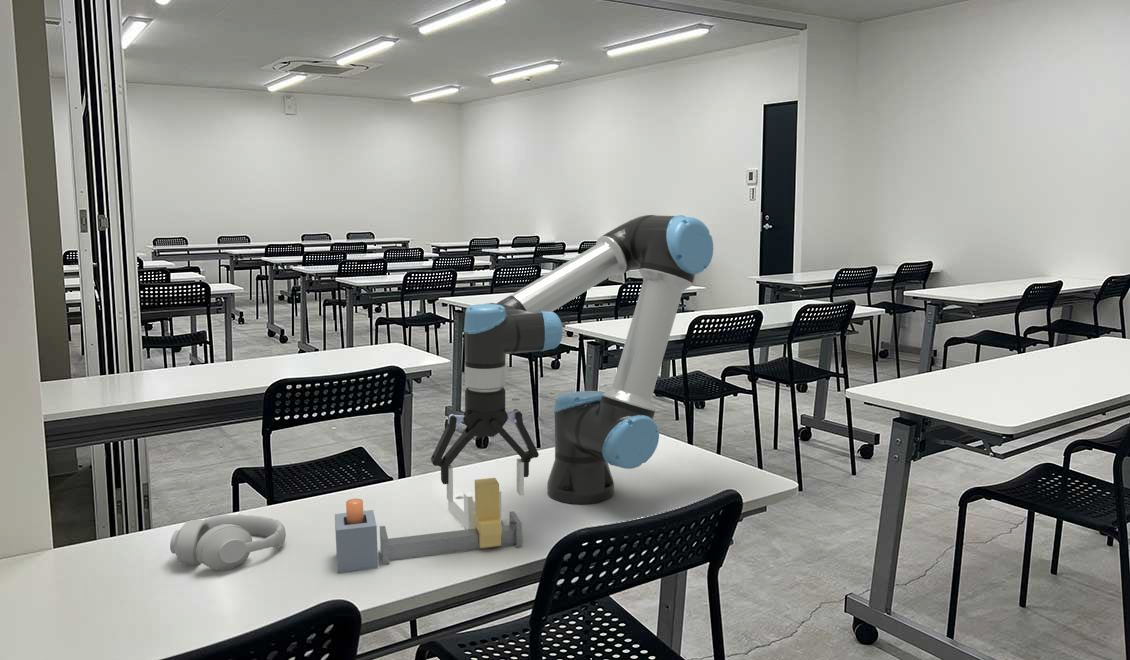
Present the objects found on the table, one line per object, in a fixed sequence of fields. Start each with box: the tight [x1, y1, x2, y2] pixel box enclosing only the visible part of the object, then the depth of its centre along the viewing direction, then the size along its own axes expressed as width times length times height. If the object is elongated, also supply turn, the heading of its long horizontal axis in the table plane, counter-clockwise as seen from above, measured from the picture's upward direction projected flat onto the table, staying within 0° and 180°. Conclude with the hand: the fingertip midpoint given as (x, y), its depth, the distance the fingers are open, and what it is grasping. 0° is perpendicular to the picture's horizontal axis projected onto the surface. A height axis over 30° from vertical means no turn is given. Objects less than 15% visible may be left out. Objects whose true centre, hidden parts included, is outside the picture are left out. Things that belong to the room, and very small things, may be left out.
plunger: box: [345, 498, 364, 525], centre depth 152 cm, size 3×3×5 cm
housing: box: [334, 509, 379, 574], centre depth 153 cm, size 7×8×8 cm
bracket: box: [447, 489, 503, 530], centre depth 174 cm, size 13×7×8 cm, turn 26°
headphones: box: [169, 514, 287, 572], centre depth 157 cm, size 18×8×20 cm
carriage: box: [474, 477, 503, 548], centre depth 160 cm, size 4×7×12 cm, turn 17°
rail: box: [379, 510, 523, 566], centre depth 158 cm, size 26×6×5 cm, turn 107°
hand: (485, 496), depth 159 cm, fingers open, 13 cm apart
